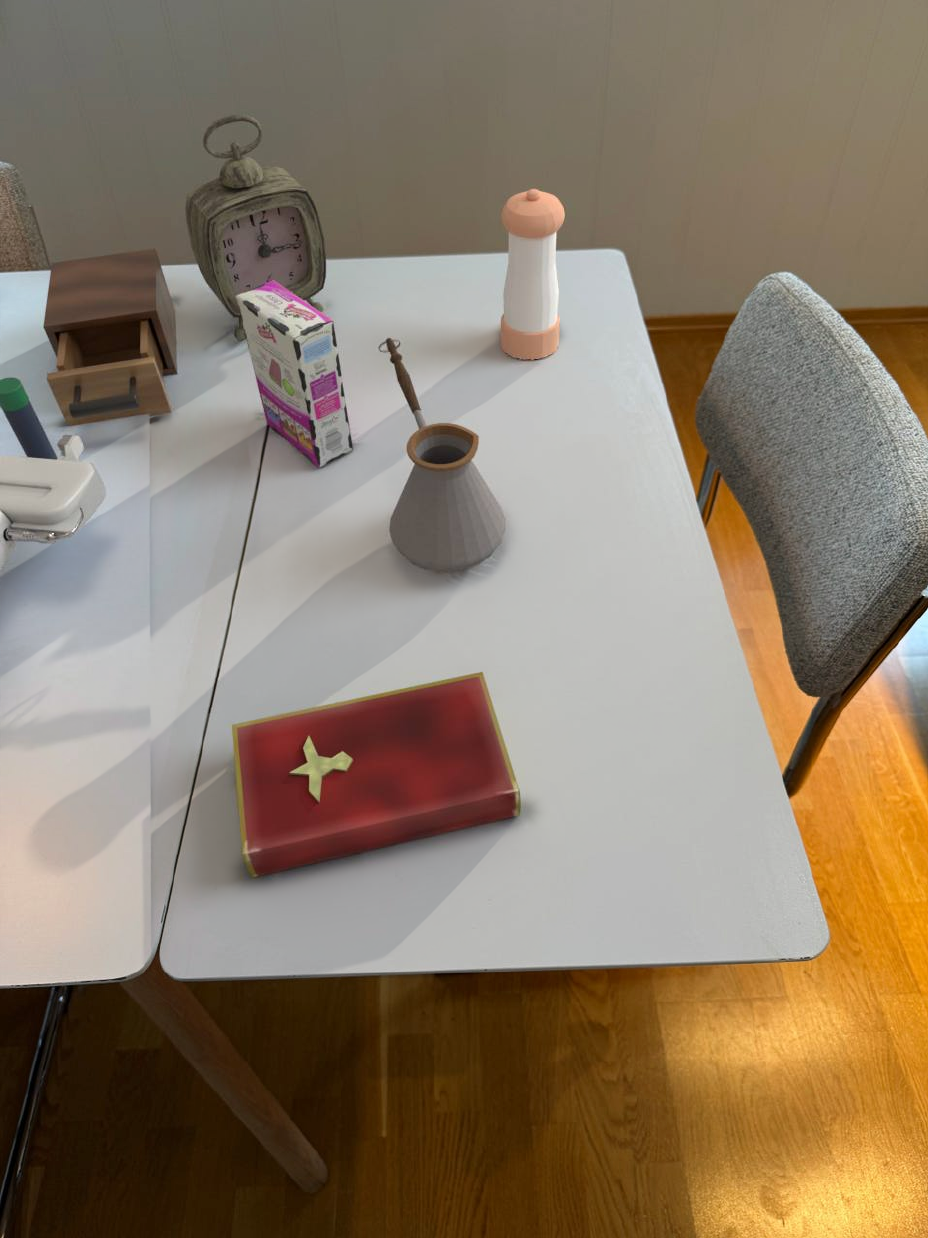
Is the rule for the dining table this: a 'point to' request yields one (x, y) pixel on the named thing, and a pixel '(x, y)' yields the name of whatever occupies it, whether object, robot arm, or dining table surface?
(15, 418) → the marker
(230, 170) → the tabletop clock
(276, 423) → the candy bar box
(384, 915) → the dining table surface
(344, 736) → the hardcover book
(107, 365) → the drawer
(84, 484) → the robot arm
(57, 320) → the cabinet
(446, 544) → the coffee pot
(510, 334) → the pepper shaker
